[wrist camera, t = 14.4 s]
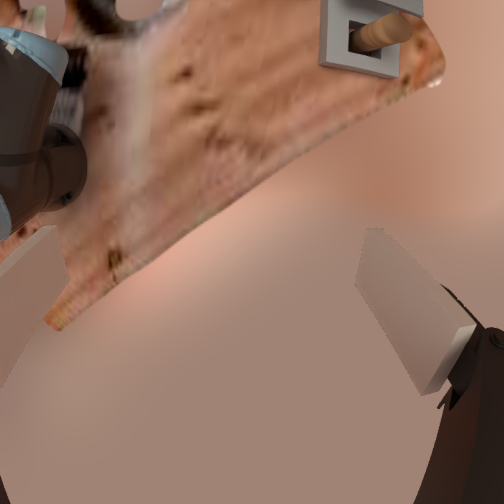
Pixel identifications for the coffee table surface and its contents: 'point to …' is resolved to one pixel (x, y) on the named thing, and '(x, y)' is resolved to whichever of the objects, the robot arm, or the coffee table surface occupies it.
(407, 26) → the dowel
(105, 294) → the coffee table surface
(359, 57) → the socket block
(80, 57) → the coffee table surface
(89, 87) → the coffee table surface
